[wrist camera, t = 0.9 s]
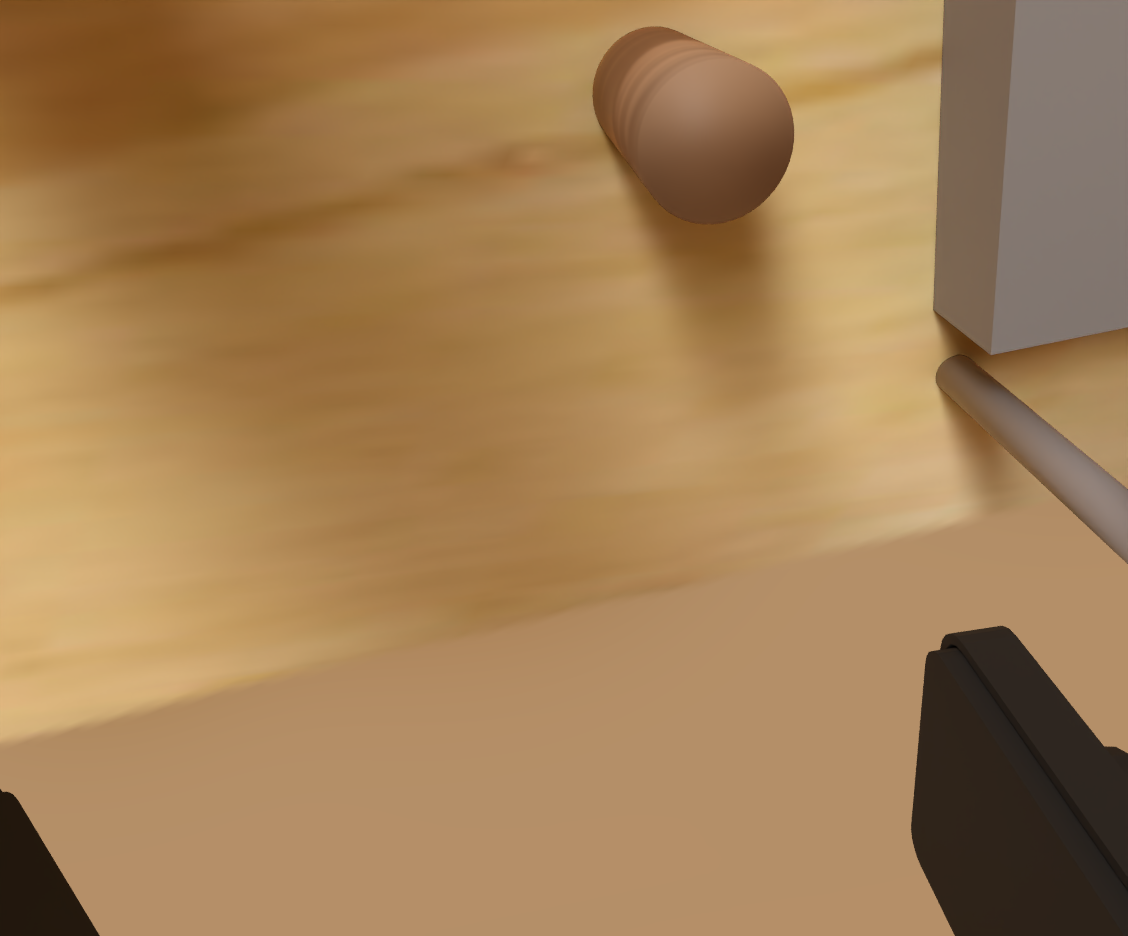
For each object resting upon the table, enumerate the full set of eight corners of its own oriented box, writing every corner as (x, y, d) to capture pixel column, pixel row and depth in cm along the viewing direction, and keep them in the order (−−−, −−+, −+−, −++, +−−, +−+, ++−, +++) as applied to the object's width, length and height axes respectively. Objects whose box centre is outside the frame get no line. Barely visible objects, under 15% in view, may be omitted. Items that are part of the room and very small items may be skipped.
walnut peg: (583, 40, 30) (627, 76, 22) (704, 15, 30) (790, 44, 22) (602, 164, 32) (648, 238, 24) (715, 141, 32) (797, 207, 24)
